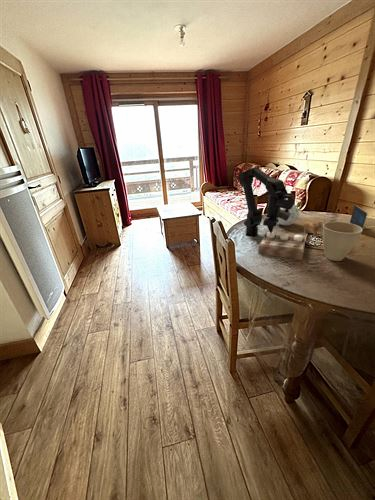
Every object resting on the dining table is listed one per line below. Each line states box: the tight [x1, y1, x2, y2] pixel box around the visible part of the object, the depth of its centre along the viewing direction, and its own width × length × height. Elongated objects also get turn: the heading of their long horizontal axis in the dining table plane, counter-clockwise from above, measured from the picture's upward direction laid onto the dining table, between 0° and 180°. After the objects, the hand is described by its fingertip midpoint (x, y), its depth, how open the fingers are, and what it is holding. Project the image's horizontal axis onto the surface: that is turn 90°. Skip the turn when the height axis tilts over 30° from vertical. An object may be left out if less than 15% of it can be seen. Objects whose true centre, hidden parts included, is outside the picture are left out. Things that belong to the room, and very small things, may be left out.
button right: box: [293, 234, 303, 242], centre depth 115 cm, size 4×4×4 cm
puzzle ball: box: [276, 204, 300, 227], centre depth 145 cm, size 15×15×15 cm
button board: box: [257, 230, 307, 261], centre depth 117 cm, size 21×22×5 cm
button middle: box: [280, 232, 289, 240], centre depth 118 cm, size 4×4×4 cm
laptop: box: [349, 204, 368, 234], centre depth 132 cm, size 18×12×13 cm
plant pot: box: [322, 221, 363, 262], centre depth 101 cm, size 15×15×16 cm
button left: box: [266, 231, 276, 239], centre depth 122 cm, size 4×4×4 cm
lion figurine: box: [299, 221, 326, 237], centre depth 130 cm, size 15×5×9 cm, turn 34°
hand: (270, 232), depth 121 cm, fingers closed
